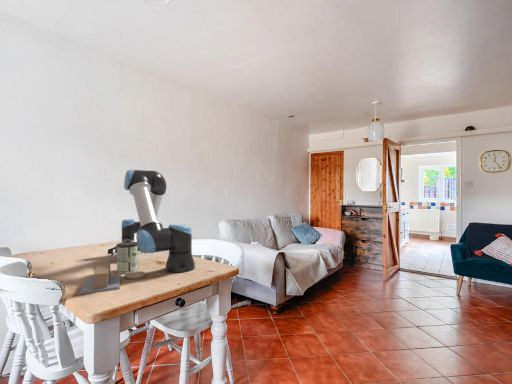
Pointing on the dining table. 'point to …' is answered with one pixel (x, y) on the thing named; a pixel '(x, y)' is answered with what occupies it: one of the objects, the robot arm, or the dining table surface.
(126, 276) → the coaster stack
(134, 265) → the coffee can
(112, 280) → the fulcrum board
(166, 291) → the dining table surface
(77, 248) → the dining table surface
